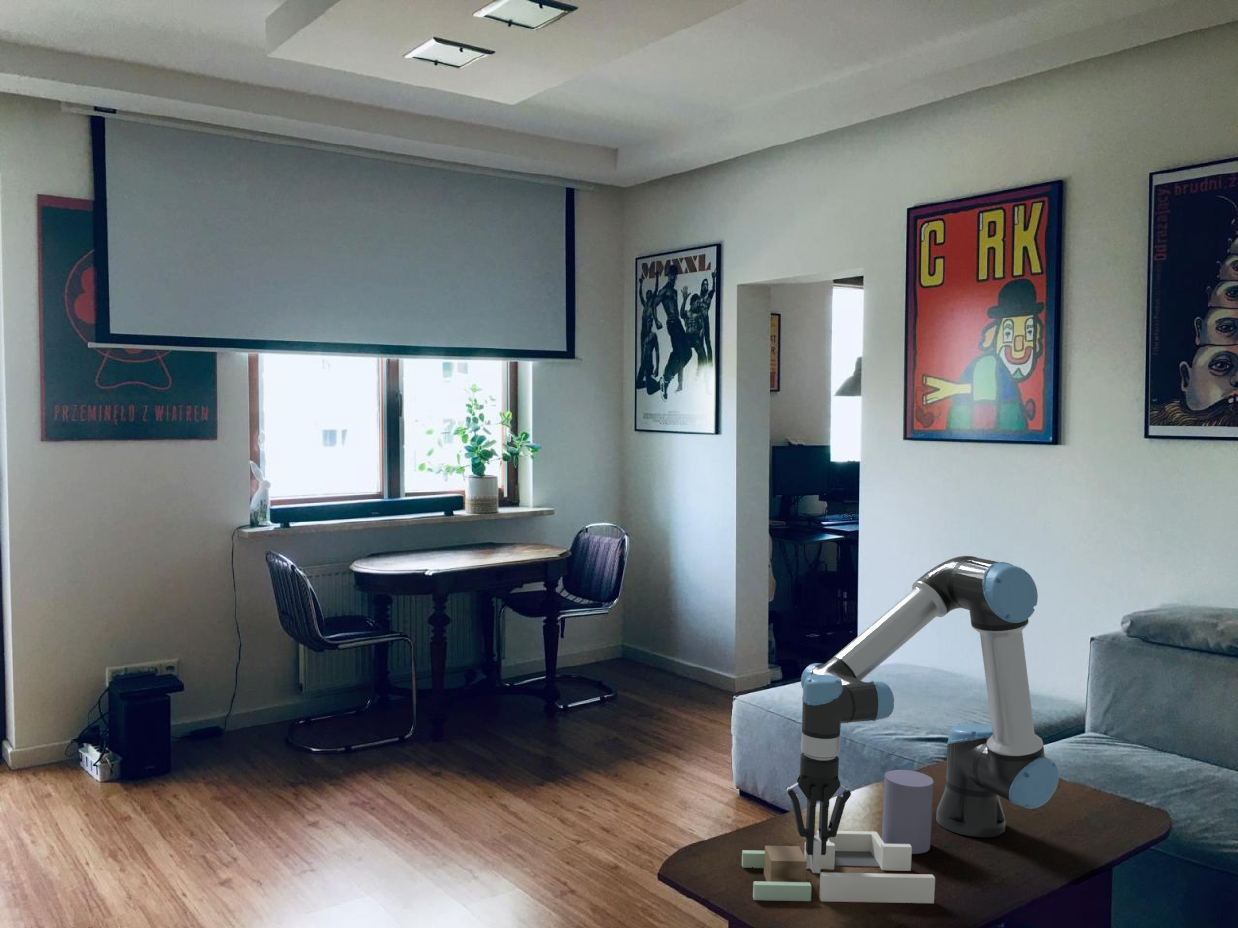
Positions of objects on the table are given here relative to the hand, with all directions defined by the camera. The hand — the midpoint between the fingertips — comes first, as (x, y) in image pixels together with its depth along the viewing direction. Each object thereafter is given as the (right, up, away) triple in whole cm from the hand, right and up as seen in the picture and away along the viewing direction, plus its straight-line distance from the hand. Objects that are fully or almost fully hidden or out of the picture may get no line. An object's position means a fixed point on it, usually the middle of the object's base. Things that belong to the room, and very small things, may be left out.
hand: (815, 869), depth 205 cm
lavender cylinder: (+24, -3, +20) cm, 31 cm away
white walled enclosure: (+10, -3, +5) cm, 12 cm away
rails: (-8, -2, 0) cm, 8 cm away
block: (-6, -3, 0) cm, 7 cm away
